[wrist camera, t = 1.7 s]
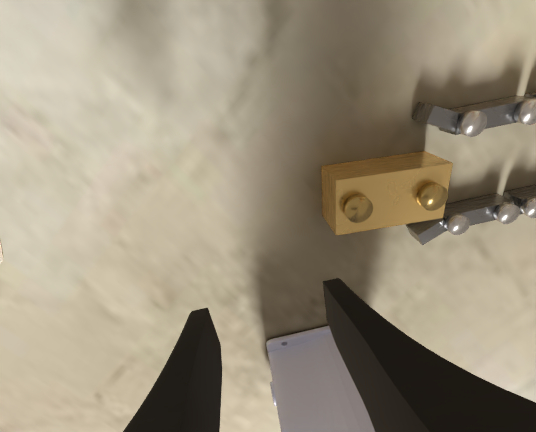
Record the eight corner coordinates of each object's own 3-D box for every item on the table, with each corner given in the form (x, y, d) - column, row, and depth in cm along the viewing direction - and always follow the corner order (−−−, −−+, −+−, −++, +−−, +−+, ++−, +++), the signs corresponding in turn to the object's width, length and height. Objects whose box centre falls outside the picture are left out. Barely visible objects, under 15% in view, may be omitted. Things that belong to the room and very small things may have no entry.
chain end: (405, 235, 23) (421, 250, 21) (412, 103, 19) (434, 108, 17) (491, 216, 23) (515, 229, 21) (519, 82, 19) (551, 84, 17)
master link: (321, 214, 21) (339, 240, 18) (320, 165, 20) (339, 184, 17) (415, 199, 22) (449, 222, 19) (422, 150, 20) (460, 166, 17)
